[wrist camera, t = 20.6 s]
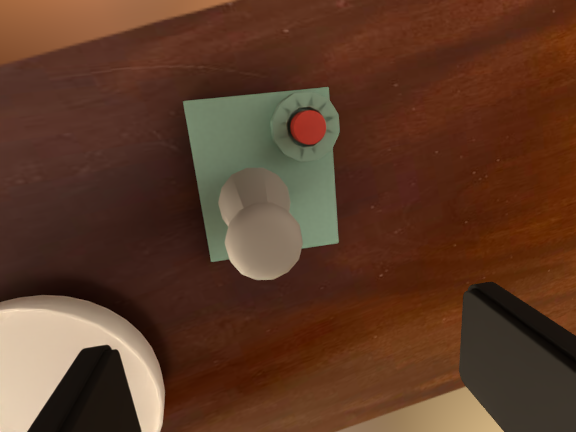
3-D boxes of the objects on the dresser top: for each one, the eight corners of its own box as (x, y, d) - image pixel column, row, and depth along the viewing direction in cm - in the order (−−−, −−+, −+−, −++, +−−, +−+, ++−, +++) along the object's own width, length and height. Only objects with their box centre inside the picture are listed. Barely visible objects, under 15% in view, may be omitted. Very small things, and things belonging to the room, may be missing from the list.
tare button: (288, 112, 28) (291, 111, 26) (319, 109, 28) (325, 108, 27) (291, 145, 29) (295, 146, 27) (322, 141, 29) (327, 142, 27)
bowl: (113, 470, 38) (90, 534, 32) (-83, 399, 33) (-153, 460, 27) (212, 333, 35) (208, 376, 29) (17, 232, 30) (-36, 259, 24)
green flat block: (185, 101, 29) (179, 99, 26) (327, 88, 31) (337, 84, 28) (211, 256, 33) (209, 269, 30) (337, 237, 35) (346, 248, 32)
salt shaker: (212, 171, 30) (196, 208, 17) (278, 156, 30) (308, 182, 18) (229, 234, 31) (226, 310, 19) (291, 220, 32) (327, 284, 19)
